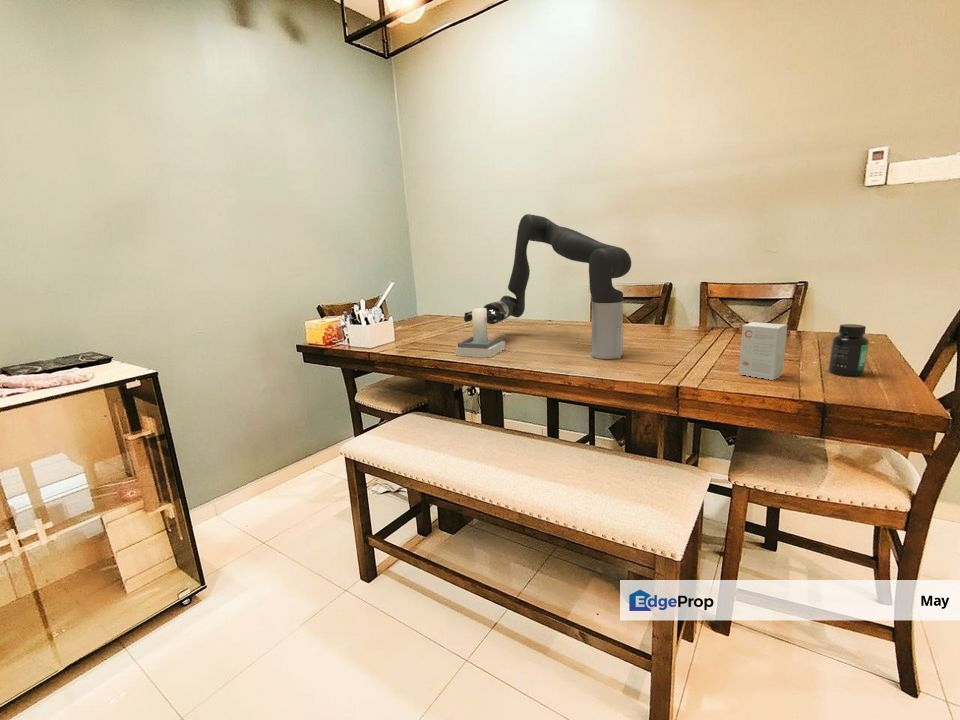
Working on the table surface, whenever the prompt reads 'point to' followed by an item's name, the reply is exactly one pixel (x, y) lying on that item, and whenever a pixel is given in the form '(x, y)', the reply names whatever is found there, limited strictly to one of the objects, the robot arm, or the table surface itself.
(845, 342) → the supplement bottle
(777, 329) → the small box
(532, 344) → the table surface
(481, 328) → the canister
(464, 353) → the tray
